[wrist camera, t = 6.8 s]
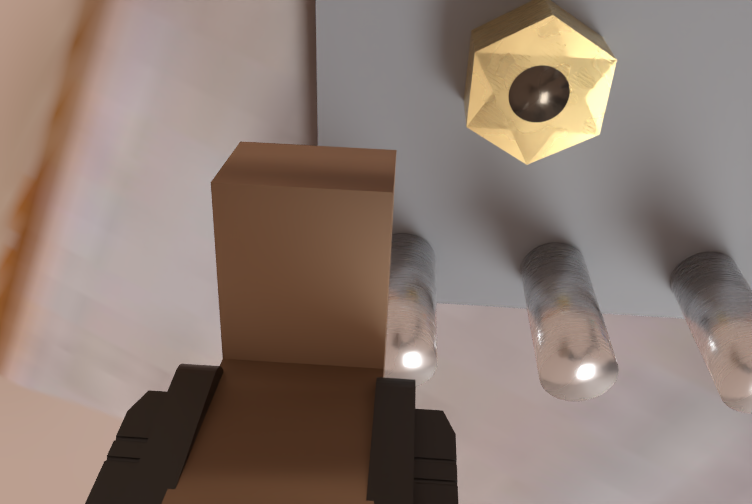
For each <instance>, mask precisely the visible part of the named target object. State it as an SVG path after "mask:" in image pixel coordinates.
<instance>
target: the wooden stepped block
mask: <svg viewBox="0 0 752 504" xmlns="http://www.w3.org/2000/svg"><path fill="white" fill-rule="evenodd" d="M396 152H397V150H386V149H368V148H349V147H331V146H312V145H293V144H275V143H256V142H240V143H239V144H238V146H237V147H236V149H235V150H234V151H233V153H232V154H231V155H230V157H229V158H228V160H227V161H226V162H225V164H224V165H223V166H222V168H221V169H220V171H219V172H218V173H217V175H216V176H215V177H214V179H213V180H212V182H211V192H212V207H213V221H214V236H215V251H216V265H217V280H218V295H219V309H220V324H221V339H222V353H223V360H222V362H221V364H220V366H221V367H222V368H223V374H222V377H221V379H220V382H219V384H218V386H217V389H216V391H215V394H214V396H213V399H212V401H211V403H210V406H209V408H208V411H207V413H206V416H205V418H204V420H203V423H202V425H201V428H200V430H199V433H198V435H197V437H196V440H195V442H194V445H193V447H192V450H191V452H190V455H189V457H188V459H187V462H186V464H185V467H184V469H183V472H182V474H181V476H180V479H179V481H178V484H177V486H176V489H168V490H167V492H166V494H165V497H164V499H163V501H162V504H374V501H366V497H367V485H368V473H369V461H370V449H371V437H372V425H373V413H374V400H375V388H376V378H377V377H384V374H385V356H386V337H387V319H388V300H389V282H390V263H391V245H392V226H393V207H394V189H395V170H396Z"/></svg>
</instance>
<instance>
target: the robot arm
mask: <svg viewBox="0 0 752 504" xmlns="http://www.w3.org/2000/svg"><path fill="white" fill-rule="evenodd" d="M222 374H223V368H222V367H221V366H208V365H192V364H180V365H179V366H178V368H177V370H176V372H175V375H174V377H173V380H172V382H171V384H170V387H169V389H168V392H162V391H148V392H147V393H146V394H145V395H144V396H143V397H142V398H141V399H140V400H138V401H137V402H136V403H135V404H134V405H133V406H132V407H131V408H130V409H129V410H128V411H127V413H126V416H125V418H124V420H123V422H122V424H121V427H120V429H119V431H118V433H117V435H116V441H114V442H113V444H112V446H111V448H110V451H109V453H108V455H107V460H106V461H105V462H104V464H103V466H102V468H101V470H100V472H99V475H98V477H97V479H96V481H95V484H94V485H93V488H92V490H91V492H90V494H89V496H88V499H87V501H86V503H85V504H162V501H163V499H164V497H165V494H166V492H167V490H168V489H176V486H177V484H178V481H179V479H180V476H181V474H182V472H183V469H184V467H185V464H186V462H187V459H188V457H189V455H190V452H191V450H192V447H193V445H194V442H195V440H196V437H197V435H198V433H199V430H200V428H201V425H202V423H203V420H204V418H205V416H206V413H207V411H208V408H209V406H210V403H211V401H212V399H213V396H214V394H215V391H216V389H217V386H218V384H219V382H220V379H221V377H222ZM415 387H416V382H415V380H414V379H399V378H384V377H377V378H376V388H375V400H374V413H373V425H372V437H371V449H370V461H369V473H368V485H367V497H366V501H374V504H458V486H457V465H456V436H455V432H454V431H453V429H452V427H451V425H450V423H449V421H448V419H447V417H446V416H445V414H444V412H443V411H439V410H424V409H415Z"/></svg>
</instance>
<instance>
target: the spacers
mask: <svg viewBox="0 0 752 504" xmlns="http://www.w3.org/2000/svg"><path fill="white" fill-rule="evenodd" d="M520 272H521V278H522V284H523V290H524V295H525V301H526V306H527V312H528V317H529V323H530V329H531V334H532V340H533V345H534V351H535V356H536V362H537V368H538V373H539V379H540V383H541V385H542V387H543V388H544V389H545V390H546V392H548V393H549V394H550V395H552V396H554V397H556V398H558V399H562V400H566V401H584V400H589V399H592V398H595V397H597V396H600V395H601V394H603V393H605V392H606V391H607V390H609V389H610V388H611V387H612V385H613V384H614V383H615V381H616V379H617V376H618V364H617V361H616V358H615V355H614V352H613V348H612V345H611V342H610V339H609V336H608V332H607V329H606V326H605V323H604V320H603V316H602V313H601V310H600V307H599V304H598V300H597V297H596V294H595V291H594V288H593V284H592V281H591V278H590V275H589V272H588V268H587V265H586V262H585V259H584V256H583V255H582V253H581V252H580V251H579V250H578V249H577V248H576V247H574V246H572V245H570V244H567V243H563V242H549V243H545V244H541V245H539V246H537V247H535V248H534V249H532V250H531V251H530V252H529V253H528V254H527V255H526V256H525V257H524V259H523V261H522V263H521V268H520ZM670 286H671V289H672V291H673V294H674V296H675V298H676V300H677V302H678V304H679V307H680V309H681V311H682V313H683V315H684V318H685V320H686V322H687V324H688V326H689V329H690V331H691V333H692V335H693V337H694V339H695V342H696V344H697V346H698V348H699V350H700V353H701V355H702V357H703V359H704V361H705V363H706V366H707V368H708V370H709V372H710V374H711V377H712V379H713V381H714V383H715V385H716V387H717V390H718V392H719V394H720V396H721V398H722V400H723V402H724V403H725V404H726V405H727V406H728V407H730V408H732V409H734V410H736V411H739V412H744V413H752V289H751V287H750V286H749V284H748V283H747V281H746V279H745V278H744V276H743V274H742V273H741V271H740V269H739V268H738V266H737V264H736V263H735V261H734V260H733V259H732V258H731V257H730V256H728V255H726V254H724V253H721V252H716V251H706V252H700V253H697V254H694V255H691V256H689V257H688V258H686V259H684V260H683V261H682V262H680V263H679V264H678V265H677V267H676V268H675V269H674V271H673V273H672V275H671V279H670ZM436 368H437V318H436V257H435V252H434V250H433V248H432V246H431V245H430V244H429V243H428V242H427V241H426V240H425V239H423V238H422V237H420V236H418V235H415V234H411V233H395V234H392V245H391V263H390V282H389V300H388V319H387V337H386V356H385V374H384V378H399V379H414V380H415V382H416V387H417V386H420V385H422V384H424V383H425V382H427V381H428V380H429V379H430V378H431V377H432V376H433V374H434V373H435V370H436Z"/></svg>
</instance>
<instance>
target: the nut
mask: <svg viewBox="0 0 752 504" xmlns="http://www.w3.org/2000/svg"><path fill="white" fill-rule="evenodd" d="M616 61H617V59H616V58H615V56H614V54H613V53H612V51H611V50H610V48H609V46H608V45H607V43H606V42H605V40H604V38H603V37H602V36H600V35H599V34H598V33H596V32H595V31H593V30H592V29H591V28H589V27H588V26H586V25H585V24H583V23H582V22H581V21H579V20H578V19H576V18H575V17H574V16H572V15H571V14H569V13H568V12H567V11H565V10H564V9H562V8H561V7H559V6H558V5H557V4H555V3H554V2H552V1H551V0H532V1H530V2H528V3H526V4H524V5H522V6H520V7H518V8H516V9H514V10H512V11H509V12H507V13H505V14H503V15H501V16H499V17H497V18H495V19H493V20H491V21H489V22H487V23H485V24H483V25H481V26H479V27H477V28H475V29H473V30H471V39H470V48H469V57H468V66H467V75H466V84H465V94H464V109H465V118H466V127H467V128H469V129H470V130H472V131H473V132H475V133H477V134H478V135H480V136H482V137H483V138H485V139H486V140H488V141H490V142H491V143H493V144H494V145H496V146H498V147H499V148H501V149H502V150H504V151H506V152H507V153H509V154H510V155H512V156H514V157H515V158H517V159H518V160H520V161H522V162H523V163H525V164H526V165H528V164H530V163H532V162H535V161H537V160H540V159H542V158H544V157H547V156H549V155H552V154H554V153H556V152H559V151H561V150H564V149H566V148H568V147H571V146H573V145H576V144H578V143H580V142H583V141H585V140H588V139H590V138H592V137H595V136H597V135H600V130H601V126H602V122H603V117H604V113H605V109H606V104H607V100H608V96H609V91H610V87H611V83H612V78H613V74H614V70H615V65H616Z"/></svg>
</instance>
